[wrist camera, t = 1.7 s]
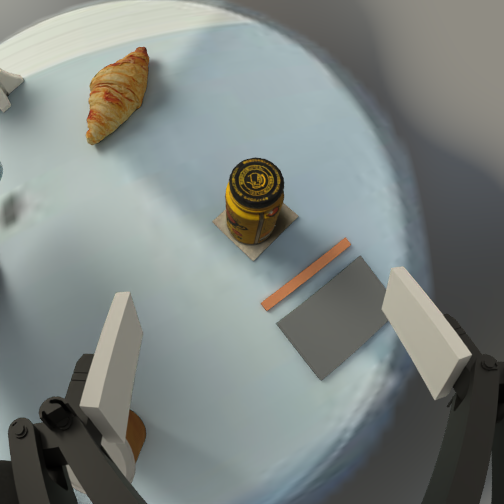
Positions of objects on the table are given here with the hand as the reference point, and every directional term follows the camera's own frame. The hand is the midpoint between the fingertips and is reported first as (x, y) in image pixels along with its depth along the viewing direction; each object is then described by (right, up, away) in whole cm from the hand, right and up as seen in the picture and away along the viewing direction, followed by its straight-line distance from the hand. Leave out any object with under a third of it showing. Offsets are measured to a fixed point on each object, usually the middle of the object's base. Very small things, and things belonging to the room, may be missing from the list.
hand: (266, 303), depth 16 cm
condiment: (0, +7, +26) cm, 27 cm away
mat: (+10, -6, +23) cm, 26 cm away
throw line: (+6, 0, +24) cm, 25 cm away
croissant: (-23, +28, +30) cm, 47 cm away
